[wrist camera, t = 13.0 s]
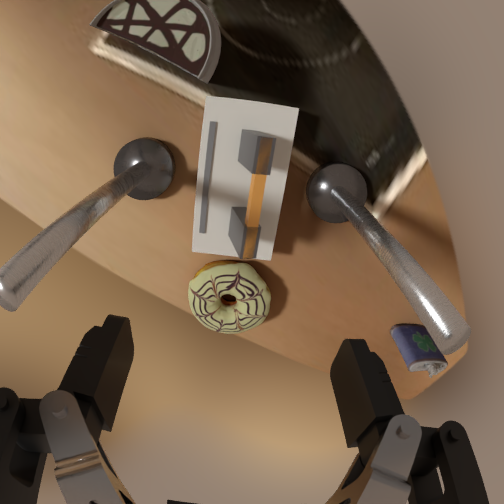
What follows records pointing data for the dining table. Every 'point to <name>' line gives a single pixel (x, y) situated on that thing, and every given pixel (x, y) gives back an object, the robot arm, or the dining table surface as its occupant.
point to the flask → (418, 348)
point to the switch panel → (238, 171)
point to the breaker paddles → (251, 191)
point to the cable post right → (386, 251)
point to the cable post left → (87, 216)
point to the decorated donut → (237, 284)
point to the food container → (167, 31)
